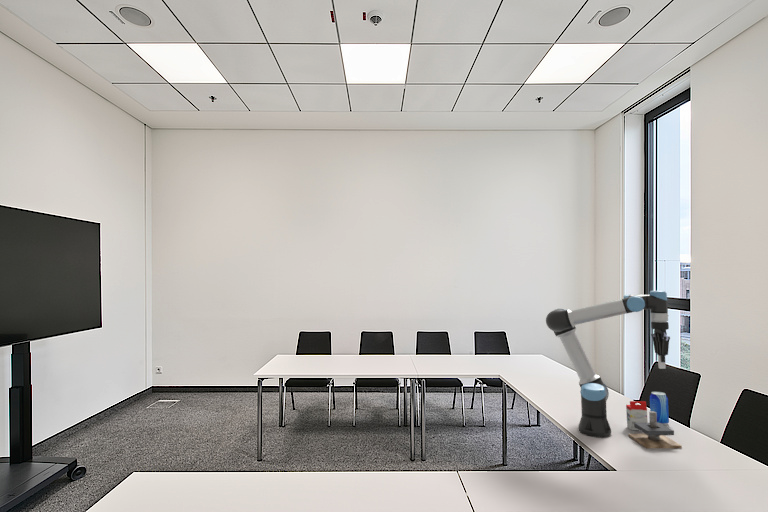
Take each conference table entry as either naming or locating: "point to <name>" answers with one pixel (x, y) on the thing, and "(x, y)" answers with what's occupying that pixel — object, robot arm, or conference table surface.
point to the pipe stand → (654, 437)
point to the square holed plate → (653, 429)
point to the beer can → (660, 407)
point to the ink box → (636, 414)
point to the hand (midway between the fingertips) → (662, 368)
